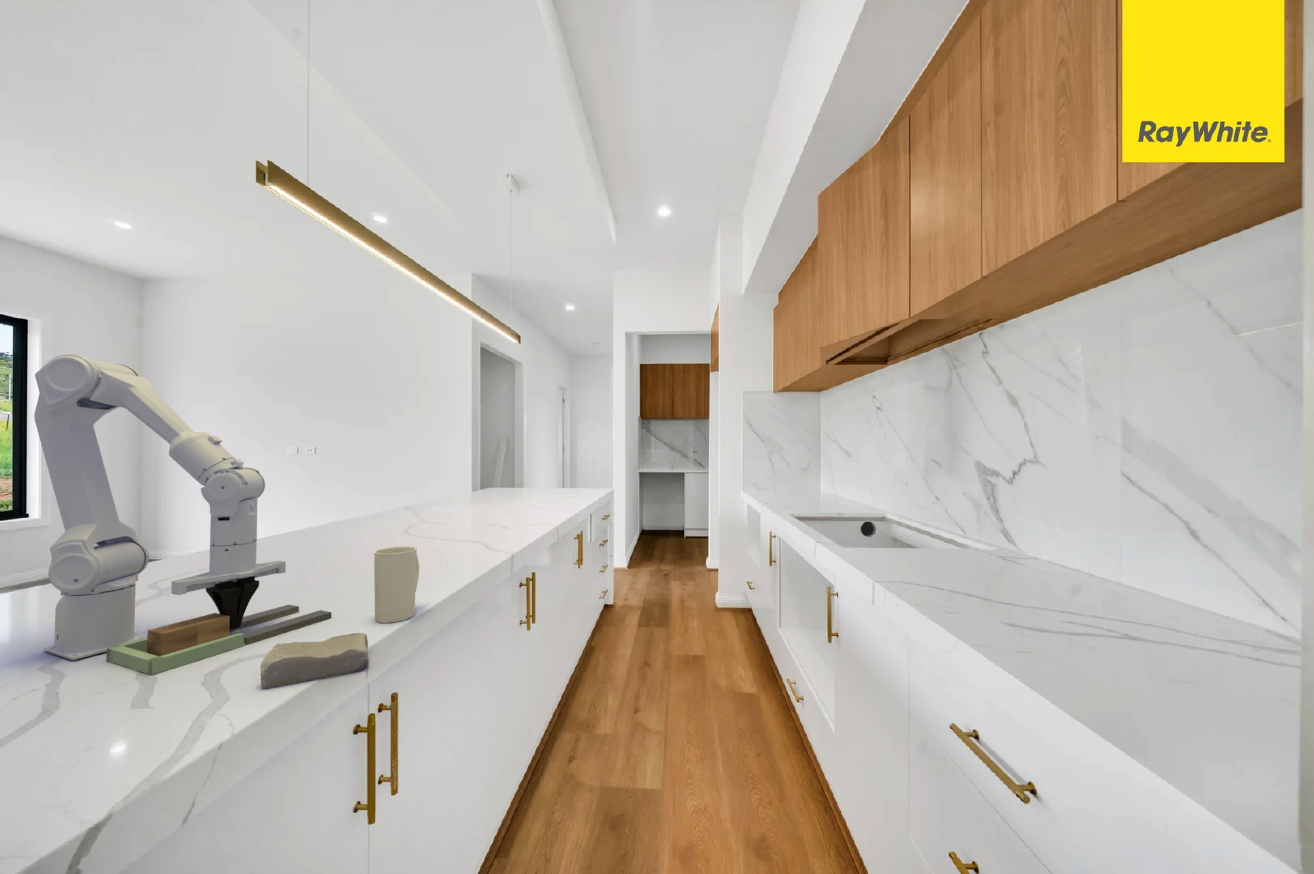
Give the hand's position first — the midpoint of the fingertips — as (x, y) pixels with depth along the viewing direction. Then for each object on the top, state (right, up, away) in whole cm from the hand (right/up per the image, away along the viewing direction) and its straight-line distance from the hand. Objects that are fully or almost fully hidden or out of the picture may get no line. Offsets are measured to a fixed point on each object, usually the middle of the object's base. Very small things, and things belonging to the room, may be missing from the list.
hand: (232, 627), depth 78 cm
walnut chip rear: (-1, -1, -3) cm, 4 cm away
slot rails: (+2, -2, +5) cm, 6 cm away
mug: (+22, -2, +11) cm, 24 cm away
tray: (-3, -1, -7) cm, 7 cm away
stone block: (+22, -2, -11) cm, 24 cm away
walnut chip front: (-3, -1, -7) cm, 8 cm away
